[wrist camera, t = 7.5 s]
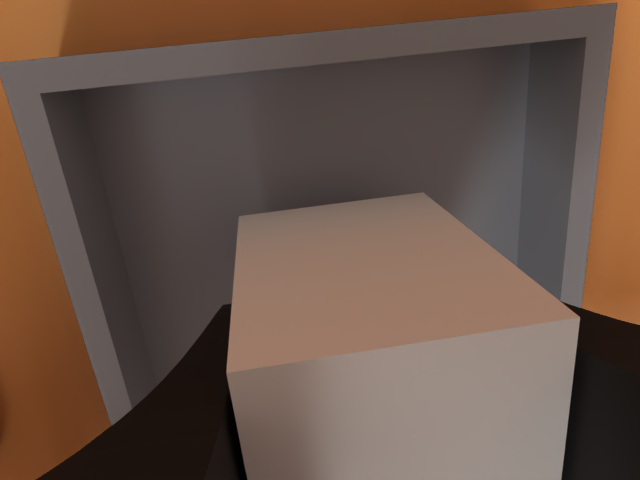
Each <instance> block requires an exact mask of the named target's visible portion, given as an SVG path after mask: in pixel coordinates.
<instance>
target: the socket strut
mask: <svg viewBox="0 0 640 480" xmlns="http://www.w3.org/2000/svg"><path fill="white" fill-rule="evenodd" d="M579 323H580V317H579V316H578V315H577V314H575V313H574V312H573V311H572V310H570V309H569V308H568V307H567V306H565V305H564V304H563V303H562V302H560V301H559V300H558V299H557V298H555V297H554V296H553V295H552V294H550V293H549V292H548V291H547V290H545V289H544V288H543V287H542V286H540V285H539V284H538V283H536V282H535V281H534V280H533V279H531V278H530V277H529V276H528V275H526V274H525V273H524V272H523V271H521V270H520V269H519V268H518V267H516V266H515V265H514V264H513V263H511V262H510V261H509V260H508V259H506V258H505V257H504V256H503V255H501V254H500V253H499V252H498V251H496V250H495V249H494V248H493V247H491V246H490V245H489V244H487V243H486V242H485V241H484V240H482V239H481V238H480V237H479V236H477V235H476V234H475V233H474V232H472V231H471V230H470V229H469V228H467V227H466V226H465V225H464V224H462V223H461V222H460V221H459V220H457V219H456V218H455V217H454V216H452V215H451V214H450V213H449V212H447V211H446V210H445V209H443V208H442V207H441V206H440V205H438V204H437V203H436V202H435V201H433V200H432V199H431V198H430V197H428V196H427V195H426V194H425V193H423V192H421V193H413V194H406V195H398V196H390V197H382V198H375V199H367V200H359V201H352V202H344V203H336V204H328V205H321V206H313V207H305V208H297V209H290V210H282V211H274V212H267V213H259V214H251V215H243V216H239V220H238V233H237V245H236V258H235V270H234V283H233V295H232V308H231V320H230V333H229V345H228V358H227V370H226V374H227V379H228V384H229V389H230V394H231V399H232V404H233V409H234V415H235V420H236V425H237V430H238V435H239V440H240V445H241V450H242V455H243V460H244V465H245V470H246V475H247V480H561V477H562V469H563V460H564V452H565V443H566V435H567V426H568V418H569V409H570V400H571V392H572V383H573V375H574V366H575V358H576V349H577V341H578V332H579Z"/></svg>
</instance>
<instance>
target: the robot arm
mask: <svg viewBox="0 0 640 480" xmlns="http://www.w3.org/2000/svg"><path fill="white" fill-rule="evenodd" d="M560 302H562V301H560ZM562 303H563V304H564V305H565V306H567V307H568V308H569V309H570V310H572V311H573V312H574V313H575V314H577V315H578V316H579V317H580V323H579V332H578V341H577V349H576V358H575V366H574V375H573V383H572V392H571V400H570V409H569V418H568V426H567V435H566V443H565V452H564V460H563V469H562V477H561V480H640V325H637V324H633V323H629V322H625V321H621V320H617V319H614V318H611V317H607V316H604V315H600V314H597V313H594V312H591V311H588V310H585V309H582V308H579V307H576V306H573V305H570V304H567V303H564V302H562ZM231 308H232V304H225V305H222V306H221V308H220V309H219V310H218V311H217V313H216V314H215V315H214V317H213V318H212V320H211V321H210V322H209V324H208V325H207V327H206V328H205V329H204V331H203V332H202V333H201V335H200V336H199V337H198V339H197V340H196V341H195V343H194V344H193V345H192V346H191V348H190V349H189V350H188V351H187V353H186V354H185V355H184V357H183V358H182V359H181V360H180V361H179V362H178V363H177V365H176V366H175V367H174V368H173V369H172V370H171V371H170V372H169V373H168V375H167V376H166V377H165V378H164V379H163V380H162V381H161V382H160V383H159V384H158V385H157V386H156V387H155V388H154V389H153V390H152V391H151V392H150V393H149V394H148V395H147V396H146V397H145V398H144V399H143V400H141V401H140V402H139V403H138V404H137V405H136V406H135V407H134V408H133V409H132V410H130V411H129V412H128V413H127V414H126V415H125V416H123V417H122V418H121V419H120V420H119V421H117V422H116V423H115V424H113V425H112V426H111V427H109V428H108V429H107V430H106V431H104V432H103V433H102V434H100V435H99V436H98V437H96V438H95V439H94V440H93V441H91V442H90V443H89V444H87V445H86V446H85V447H84V448H82V449H81V450H80V451H78V452H77V453H75V454H74V455H72V456H71V457H69V458H68V459H67V460H65V461H64V462H62V463H61V464H59V465H58V466H56V467H55V468H53V469H52V470H50V471H49V472H47V473H46V474H44V475H42V476H41V477H39V478H38V479H36V480H247V475H246V470H245V465H244V460H243V455H242V450H241V445H240V440H239V435H238V430H237V425H236V420H235V415H234V409H233V404H232V399H231V394H230V389H229V384H228V379H227V374H226V370H227V358H228V345H229V333H230V320H231Z"/></svg>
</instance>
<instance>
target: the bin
mask: <svg viewBox="0 0 640 480" xmlns="http://www.w3.org/2000/svg"><path fill="white" fill-rule="evenodd" d="M616 9H617V3H609V4H598V5H588V6H578V7H567V8H557V9H547V10H537V11H526V12H516V13H506V14H495V15H485V16H475V17H464V18H454V19H444V20H433V21H423V22H413V23H403V24H392V25H382V26H372V27H361V28H351V29H341V30H330V31H320V32H310V33H300V34H289V35H279V36H269V37H258V38H248V39H238V40H227V41H217V42H207V43H196V44H186V45H176V46H166V47H155V48H145V49H135V50H124V51H114V52H104V53H93V54H83V55H73V56H62V57H52V58H42V59H32V60H21V61H11V62H1V63H0V77H1V80H2V84H3V87H4V90H5V93H6V96H7V99H8V102H9V106H10V109H11V112H12V115H13V118H14V121H15V125H16V128H17V131H18V134H19V137H20V140H21V143H22V147H23V150H24V153H25V156H26V159H27V162H28V166H29V169H30V172H31V175H32V178H33V181H34V184H35V188H36V191H37V194H38V197H39V200H40V203H41V207H42V210H43V213H44V216H45V219H46V222H47V225H48V229H49V232H50V235H51V238H52V241H53V244H54V247H55V251H56V254H57V257H58V260H59V263H60V266H61V270H62V273H63V276H64V279H65V282H66V285H67V288H68V292H69V295H70V298H71V301H72V304H73V307H74V311H75V314H76V317H77V320H78V323H79V326H80V329H81V333H82V336H83V339H84V342H85V345H86V348H87V352H88V355H89V358H90V361H91V364H92V367H93V370H94V374H95V377H96V380H97V383H98V386H99V389H100V392H101V396H102V399H103V402H104V405H105V408H106V411H107V415H108V418H109V421H110V424H111V426H112V425H113V424H115V423H116V422H117V421H119V420H120V419H121V418H122V417H123V416H125V415H126V414H127V413H128V412H129V411H130V410H132V409H133V408H134V407H135V406H136V405H137V404H138V403H139V402H140V401H141V400H143V399H144V398H145V397H146V396H147V395H148V394H149V393H150V392H151V391H152V390H153V389H154V388H155V387H156V386H157V385H158V384H159V383H160V382H161V381H162V380H163V379H164V378H165V377H166V376H167V375H168V373H169V372H170V371H171V370H172V369H173V368H174V367H175V366H176V365H177V363H178V362H179V361H180V360H181V359H182V358H183V357H184V355H185V354H186V353H187V351H188V350H189V349H190V348H191V346H192V345H193V344H194V343H195V341H196V340H197V339H198V337H199V336H200V335H201V333H202V332H203V331H204V329H205V328H206V327H207V325H208V324H209V322H210V321H211V320H212V318H213V317H214V315H215V314H216V313H217V311H218V310H219V309H220V308H221V306H222V305H225V304H232V295H233V283H234V270H235V258H236V245H237V233H238V220H239V216H243V215H251V214H259V213H267V212H274V211H282V210H290V209H297V208H305V207H313V206H321V205H328V204H336V203H344V202H352V201H359V200H367V199H375V198H382V197H390V196H398V195H406V194H413V193H421V192H423V193H425V194H426V195H427V196H428V197H430V198H431V199H432V200H433V201H435V202H436V203H437V204H438V205H440V206H441V207H442V208H443V209H445V210H446V211H447V212H449V213H450V214H451V215H452V216H454V217H455V218H456V219H457V220H459V221H460V222H461V223H462V224H464V225H465V226H466V227H467V228H469V229H470V230H471V231H472V232H474V233H475V234H476V235H477V236H479V237H480V238H481V239H482V240H484V241H485V242H486V243H487V244H489V245H490V246H491V247H493V248H494V249H495V250H496V251H498V252H499V253H500V254H501V255H503V256H504V257H505V258H506V259H508V260H509V261H510V262H511V263H513V264H514V265H515V266H516V267H518V268H519V269H520V270H521V271H523V272H524V273H525V274H526V275H528V276H529V277H530V278H531V279H533V280H534V281H535V282H536V283H538V284H539V285H540V286H542V287H543V288H544V289H545V290H547V291H548V292H549V293H550V294H552V295H553V296H554V297H555V298H557V299H558V300H559V301H562V302H564V303H567V304H570V305H573V306H576V307H579V308H581V305H582V297H583V288H584V280H585V271H586V263H587V255H588V246H589V238H590V229H591V221H592V212H593V204H594V195H595V187H596V178H597V170H598V161H599V153H600V144H601V136H602V127H603V119H604V110H605V102H606V94H607V85H608V77H609V68H610V60H611V51H612V43H613V34H614V26H615V17H616Z"/></svg>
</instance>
